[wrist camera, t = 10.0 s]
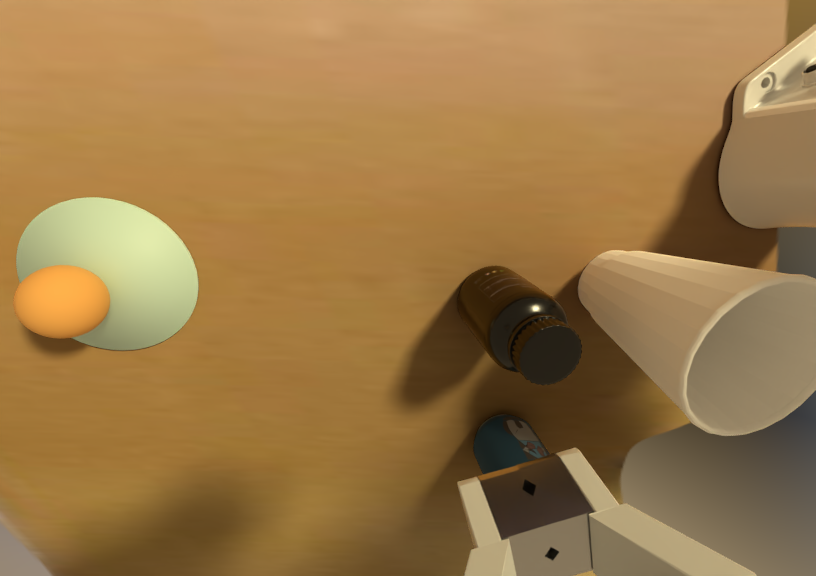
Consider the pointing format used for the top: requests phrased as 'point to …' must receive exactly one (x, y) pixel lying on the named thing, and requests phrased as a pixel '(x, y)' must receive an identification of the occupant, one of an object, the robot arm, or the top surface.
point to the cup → (710, 334)
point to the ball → (61, 301)
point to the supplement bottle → (519, 325)
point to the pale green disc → (118, 267)
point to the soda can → (506, 443)
